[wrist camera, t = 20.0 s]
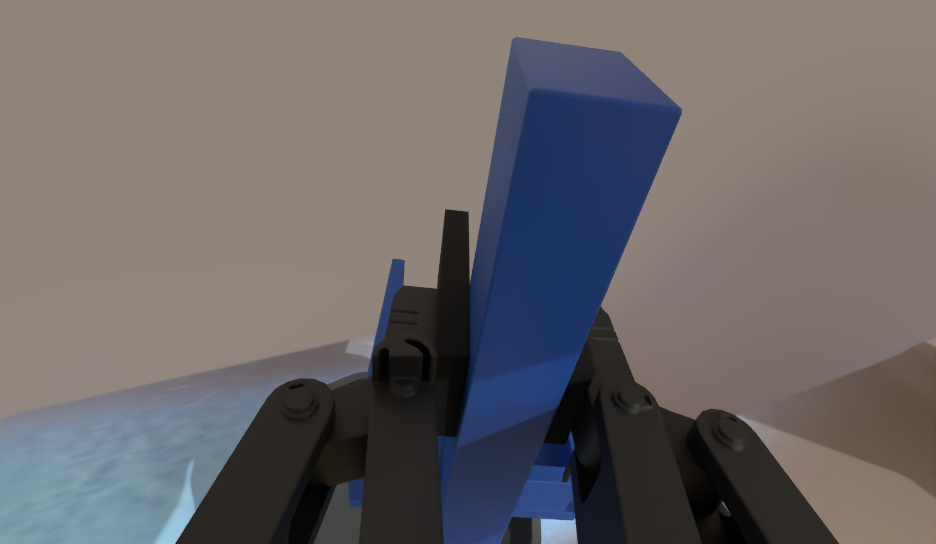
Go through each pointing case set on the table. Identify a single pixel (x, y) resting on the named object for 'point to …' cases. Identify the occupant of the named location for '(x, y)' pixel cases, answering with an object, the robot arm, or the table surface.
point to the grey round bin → (343, 521)
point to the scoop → (541, 273)
